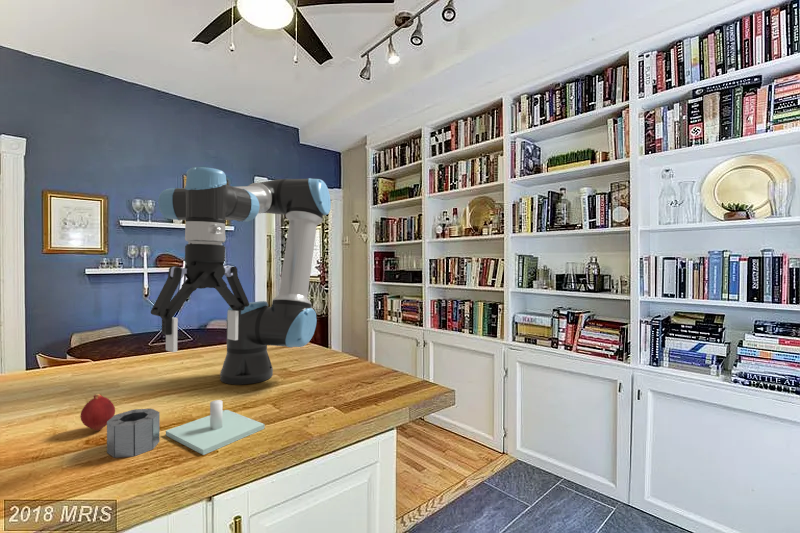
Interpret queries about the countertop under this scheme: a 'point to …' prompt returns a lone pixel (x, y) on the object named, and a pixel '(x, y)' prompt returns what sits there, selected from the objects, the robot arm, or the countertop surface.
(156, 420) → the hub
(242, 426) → the post block
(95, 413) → the onion
